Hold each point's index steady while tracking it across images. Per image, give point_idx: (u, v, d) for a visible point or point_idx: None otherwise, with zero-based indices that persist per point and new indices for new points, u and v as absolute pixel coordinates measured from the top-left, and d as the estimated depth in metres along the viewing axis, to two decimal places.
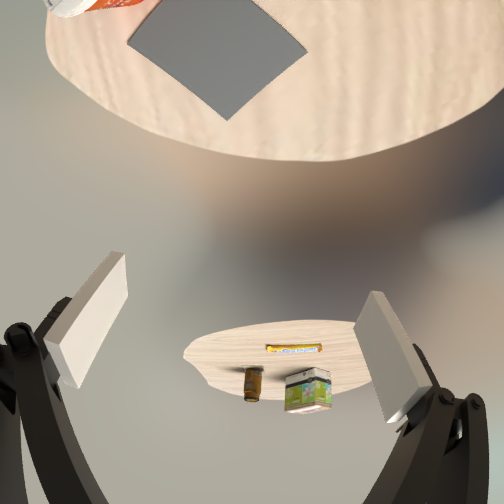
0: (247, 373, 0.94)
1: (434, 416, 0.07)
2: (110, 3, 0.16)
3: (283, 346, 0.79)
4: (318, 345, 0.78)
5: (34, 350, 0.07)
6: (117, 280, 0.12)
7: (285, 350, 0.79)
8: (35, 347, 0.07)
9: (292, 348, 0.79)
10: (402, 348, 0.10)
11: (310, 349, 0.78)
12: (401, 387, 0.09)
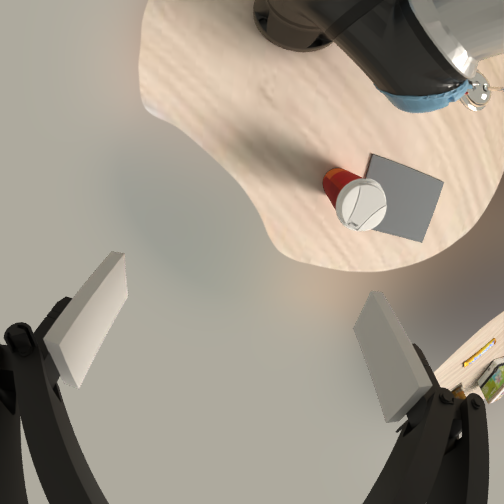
0: None
1: (434, 416, 0.07)
2: None
3: (473, 356, 0.73)
4: (492, 340, 0.70)
5: (34, 350, 0.07)
6: (117, 280, 0.12)
7: (475, 357, 0.73)
8: (35, 347, 0.07)
9: (479, 353, 0.72)
10: (402, 348, 0.10)
11: (489, 346, 0.70)
12: (401, 387, 0.09)
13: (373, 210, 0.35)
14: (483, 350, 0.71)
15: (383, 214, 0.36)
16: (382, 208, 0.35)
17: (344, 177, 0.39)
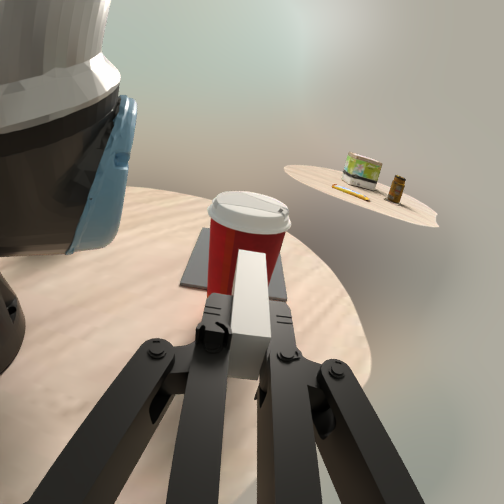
0: (397, 199, 1.10)
1: (279, 381, 0.08)
2: None
3: (357, 195, 1.02)
4: (334, 186, 1.07)
5: (223, 351, 0.09)
6: None
7: (357, 193, 1.02)
8: (225, 348, 0.09)
9: (352, 192, 1.03)
10: (252, 299, 0.12)
11: (340, 186, 1.06)
12: None
13: (252, 198, 0.26)
14: (347, 190, 1.05)
15: (253, 193, 0.28)
16: (246, 193, 0.27)
17: (214, 262, 0.26)
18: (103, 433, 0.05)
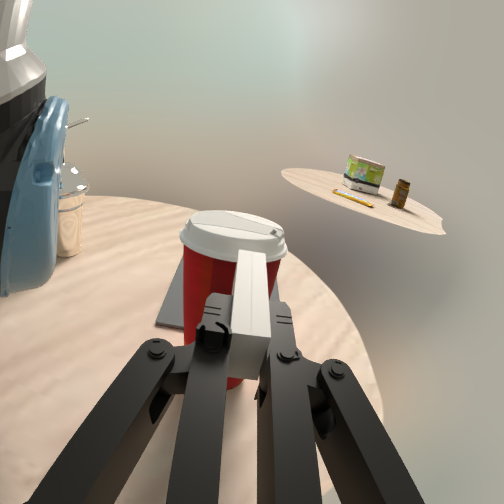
0: (401, 204, 1.03)
1: (279, 381, 0.08)
2: None
3: (359, 201, 0.95)
4: (335, 192, 1.00)
5: (223, 351, 0.09)
6: None
7: (359, 199, 0.96)
8: (225, 348, 0.09)
9: (354, 197, 0.97)
10: (252, 299, 0.12)
11: (341, 192, 1.00)
12: None
13: (236, 218, 0.21)
14: (348, 195, 0.98)
15: (239, 213, 0.22)
16: (229, 213, 0.22)
17: (188, 301, 0.19)
18: (103, 433, 0.05)
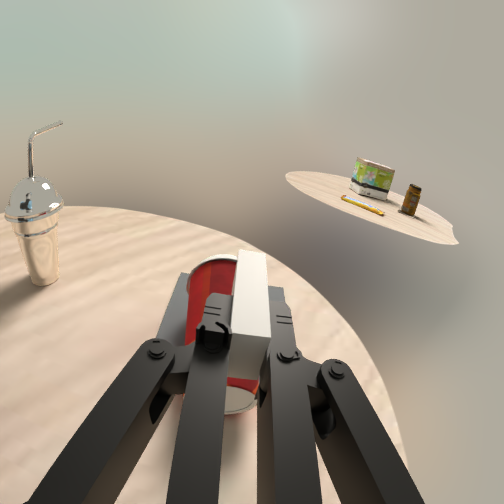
0: (412, 211, 0.96)
1: (279, 381, 0.08)
2: None
3: (369, 209, 0.88)
4: (343, 198, 0.93)
5: (223, 351, 0.09)
6: None
7: (369, 206, 0.89)
8: (225, 348, 0.09)
9: (364, 205, 0.89)
10: (252, 299, 0.12)
11: (350, 198, 0.93)
12: None
13: None
14: (358, 202, 0.91)
15: None
16: None
17: (192, 302, 0.24)
18: (103, 433, 0.05)
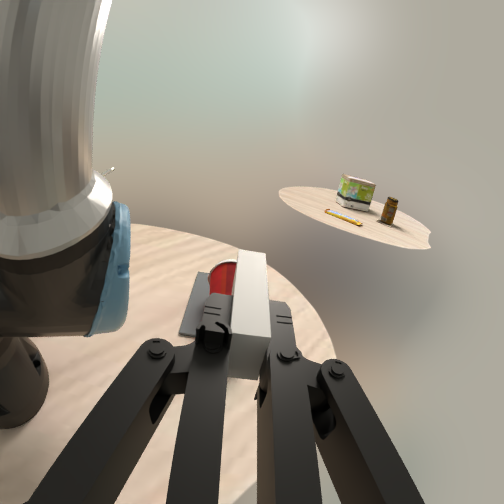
0: (389, 220, 1.15)
1: (279, 381, 0.08)
2: None
3: (349, 221, 1.06)
4: (327, 212, 1.12)
5: (223, 351, 0.09)
6: None
7: (349, 218, 1.07)
8: (225, 348, 0.09)
9: (344, 217, 1.08)
10: (252, 299, 0.12)
11: (333, 212, 1.11)
12: None
13: None
14: (339, 215, 1.09)
15: None
16: None
17: (215, 284, 0.42)
18: (103, 433, 0.05)
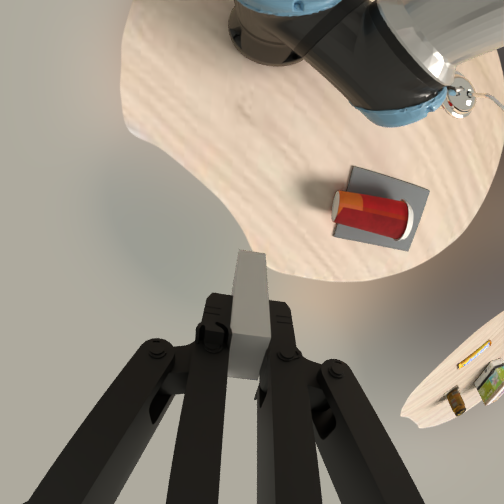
0: (449, 397, 0.83)
1: (279, 381, 0.08)
2: None
3: (468, 358, 0.73)
4: (488, 342, 0.70)
5: (223, 351, 0.09)
6: None
7: (470, 359, 0.73)
8: (225, 348, 0.09)
9: (473, 355, 0.72)
10: (252, 299, 0.12)
11: (485, 348, 0.71)
12: None
13: None
14: (478, 352, 0.72)
15: None
16: None
17: (386, 205, 0.43)
18: (103, 433, 0.05)
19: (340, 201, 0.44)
